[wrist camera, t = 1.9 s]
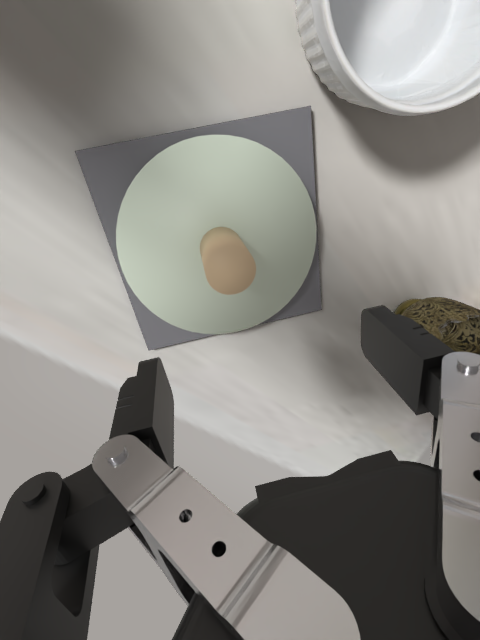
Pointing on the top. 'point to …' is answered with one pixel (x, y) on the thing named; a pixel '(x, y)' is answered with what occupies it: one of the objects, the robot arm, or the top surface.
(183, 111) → the top surface
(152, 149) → the mat
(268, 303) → the lid
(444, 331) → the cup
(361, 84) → the ramekin
